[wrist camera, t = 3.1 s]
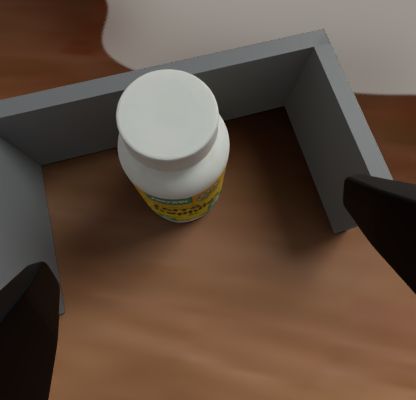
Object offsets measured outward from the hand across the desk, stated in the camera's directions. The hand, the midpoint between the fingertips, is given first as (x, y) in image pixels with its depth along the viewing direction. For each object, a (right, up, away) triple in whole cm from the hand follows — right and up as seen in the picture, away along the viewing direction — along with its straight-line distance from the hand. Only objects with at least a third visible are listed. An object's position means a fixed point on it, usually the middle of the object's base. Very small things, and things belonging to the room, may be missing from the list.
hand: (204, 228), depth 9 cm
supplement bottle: (-2, +2, +12) cm, 12 cm away
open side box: (-1, +1, +12) cm, 12 cm away
